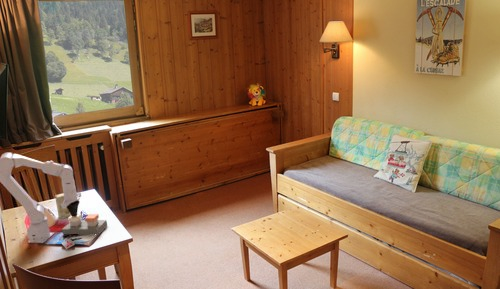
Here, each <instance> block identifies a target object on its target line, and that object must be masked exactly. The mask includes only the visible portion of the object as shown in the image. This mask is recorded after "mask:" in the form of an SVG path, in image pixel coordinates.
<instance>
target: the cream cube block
mask: <svg viewBox="0 0 500 289" xmlns="http://www.w3.org/2000/svg"><path fill="white" fill-rule="evenodd" d="M82 216H83V215H82V213H77V216H75V217H72V216H68V217H67V222H69V223H70V225H71V227H78V226H79V225H80V224H81V220H82Z"/></svg>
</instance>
